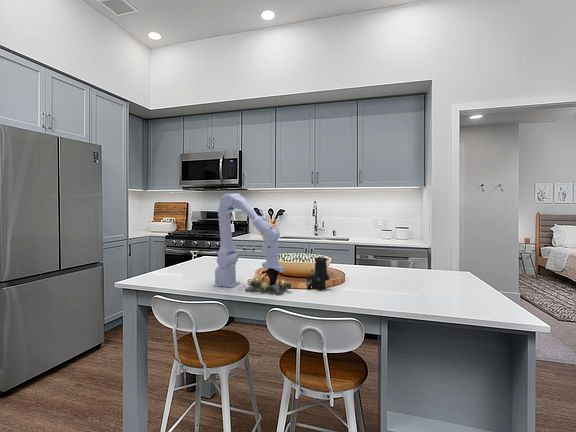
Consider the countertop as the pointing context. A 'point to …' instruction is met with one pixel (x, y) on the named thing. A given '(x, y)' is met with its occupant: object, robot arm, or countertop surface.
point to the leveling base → (272, 289)
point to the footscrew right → (265, 285)
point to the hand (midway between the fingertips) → (273, 284)
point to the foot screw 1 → (256, 281)
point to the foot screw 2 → (284, 284)
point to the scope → (318, 275)
